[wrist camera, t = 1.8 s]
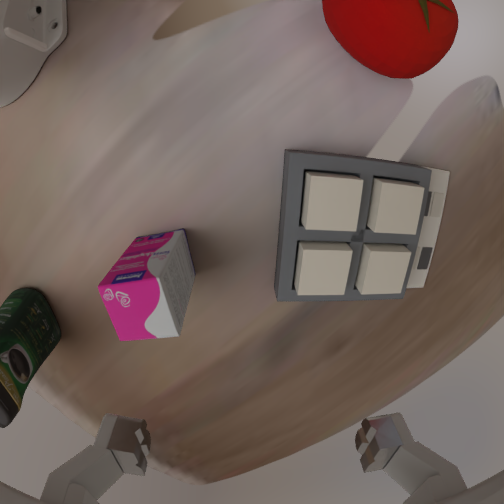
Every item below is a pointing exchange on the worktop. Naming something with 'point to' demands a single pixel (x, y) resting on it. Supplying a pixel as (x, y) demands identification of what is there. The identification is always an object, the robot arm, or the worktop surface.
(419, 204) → the button
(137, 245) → the supplement box
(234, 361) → the worktop surface
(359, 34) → the tomato
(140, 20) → the worktop surface
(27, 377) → the coffee jar
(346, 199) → the button
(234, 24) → the worktop surface
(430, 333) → the worktop surface
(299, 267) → the button
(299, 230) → the button board
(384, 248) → the button
